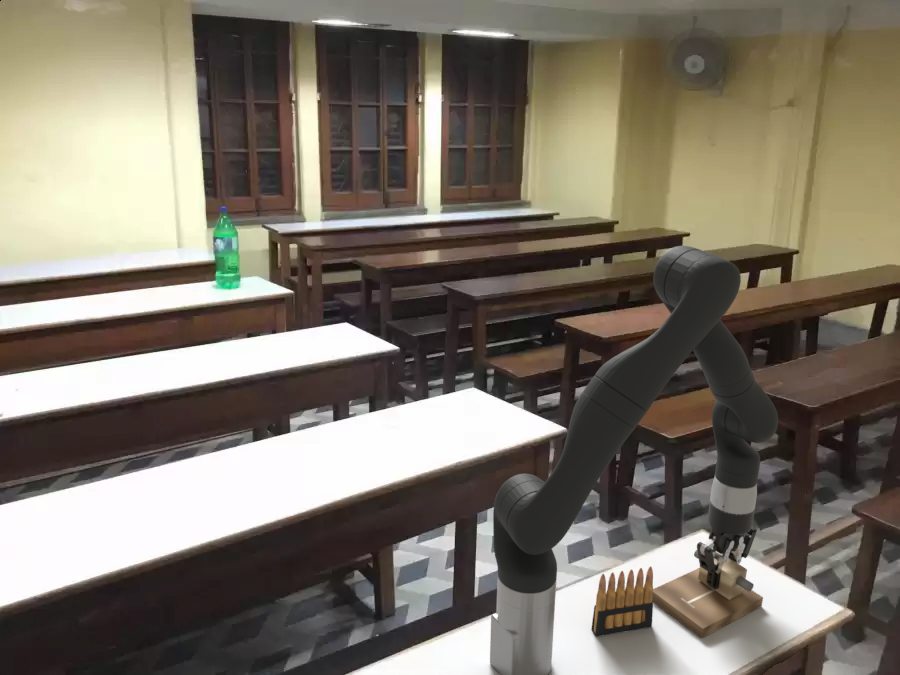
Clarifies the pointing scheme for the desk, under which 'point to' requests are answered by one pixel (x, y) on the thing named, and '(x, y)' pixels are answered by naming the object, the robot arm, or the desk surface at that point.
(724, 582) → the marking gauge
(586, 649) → the desk surface
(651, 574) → the ammunition clip
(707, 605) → the walnut board
